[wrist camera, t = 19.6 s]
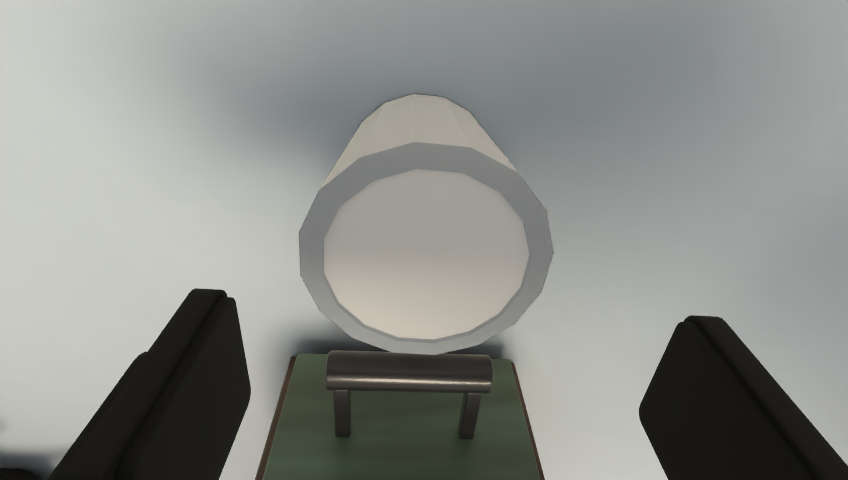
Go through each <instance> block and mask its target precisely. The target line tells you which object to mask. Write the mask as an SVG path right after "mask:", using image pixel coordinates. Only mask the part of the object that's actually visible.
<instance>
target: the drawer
mask: <svg viewBox="0 0 848 480" xmlns="http://www.w3.org/2000/svg"><path fill="white" fill-rule="evenodd" d="M262 480H541V479H540V475H539V471H538V467H537V463H536V459H535V455H534V452H533V448H532V444H531V440H530V436H529V432H528V428H527V424H526V420H525V416H524V412H523V408H522V404H521V401H520V397H519V393H518V389H517V385H516V381H515V377H514V373H513V369H512V365H511V361H510V360H509V359H491V357H490V356H489V355H473V354H438V355H427V354H410V353H393V352H371V351H337V350H331V351H329V353H328V354H308V353H298V354H297V357H296V361H295V364H294V368H293V372H292V375H291V379H290V382H289V386H288V389H287V393H286V397H285V400H284V404H283V407H282V411H281V415H280V418H279V422H278V425H277V429H276V433H275V436H274V440H273V443H272V447H271V450H270V454H269V458H268V461H267V465H266V468H265V472H264V476H263V479H262Z"/></svg>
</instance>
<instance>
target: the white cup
mask: <svg viewBox="0 0 848 480" xmlns="http://www.w3.org/2000/svg"><path fill="white" fill-rule="evenodd" d="M299 250H300V275H301V277H302V279H303V281H304V283H305V284H306V286H307V288H308V290H309V292H310V294H311V296H312V298H313V300H314V301H315V303H316V305H317V307H318V309H319V311H320V312H321V313H323V314H324V315H325V316H326V317H327V318H329V319H330V320H331V321H332V322H334V323H335V324H336V325H337V326H338V327H340V328H341V329H342V330H343V331H345V332H346V333H347V334H348V335H349V336H351V337H352V338H354V339H357V340H360V341H362V342H365V343H368V344H371V345H373V346H376V347H379V348H381V349H384V350H387V351H389V352H393V353H410V354H427V355H438V354H442V353H446V352H451V351H455V350H459V349H464V348H468V347H472V346H477V345H479V344H481V343H482V342H484V341H486V340H488V339H489V338H491V337H493V336H494V335H496V334H498V333H500V332H501V331H503V330H505V329H507V328H508V327H510V326H512V325H513V324H515V323H516V322H517V320H518V319H519V318H520V317H521V316H522V314H523V313H524V312H525V311H526V310H527V309H528V307H529V306H530V305H531V304H532V303H533V301H534V300H535V299H536V298H537V297H538V296H539V294H540V293H541V292H542V289H543V285H544V282H545V279H546V276H547V272H548V269H549V266H550V263H551V259H552V256H553V253H554V252H553V246H552V240H551V234H550V228H549V222H548V216H547V210H546V209H545V208H544V206H543V205H542V204H541V202H540V201H539V200H538V198H537V197H536V196H535V194H534V193H533V192H532V190H531V189H530V188H529V186H528V185H527V184H526V182H525V181H524V180H523V178H522V177H521V176H520V174H519V173H518V172H517V170H516V169H515V168H514V167H513V165H512V164H511V163H510V162H509V161H508V159H507V158H506V157H505V156H504V154H503V153H502V152H501V151H500V149H499V148H498V147H497V146H496V145H495V143H494V142H493V141H492V140H491V138H490V137H489V136H488V135H487V133H486V132H485V131H484V130H483V128H482V127H481V126H480V125H479V124H478V122H477V121H476V120H475V119H474V117H473V116H472V115H471V114H470V112H469V111H467V110H465V109H463V108H462V107H460V106H458V105H456V104H455V103H453V102H451V101H449V100H447V99H446V98H444V97H437V96H428V95H418V94H412V95H408V96H405V97H402V98H399V99H395V100H392V101H389V102H385V103H384V104H383V105H381V106H380V107H379V108H378V109H377V110H376V111H374V112H373V113H372V114H371V115H370V116H368V117H367V118H366V119H365V120H364V121H363V122H362V123H361V125H360V126H359V128H358V130H357V131H356V133H355V134H354V136H353V137H352V139H351V141H350V142H349V144H348V145H347V147H346V148H345V150H344V152H343V153H342V155H341V156H340V158H339V160H338V161H337V163H336V164H335V166H334V167H333V169H332V171H331V172H330V174H329V175H328V177H327V178H326V180H325V182H324V183H323V185H322V186H321V188H320V189H319V191H318V193H317V195H316V198H315V200H314V202H313V204H312V206H311V208H310V210H309V212H308V214H307V216H306V219H305V221H304V223H303V225H302V227H301V229H300V231H299Z"/></svg>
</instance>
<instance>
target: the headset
mask: <svg viewBox="0 0 848 480" xmlns="http://www.w3.org/2000/svg"><path fill="white" fill-rule="evenodd" d="M0 480H33V477H32V475H31V473H29V472H25V471H22V470H16V469H0Z"/></svg>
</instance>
